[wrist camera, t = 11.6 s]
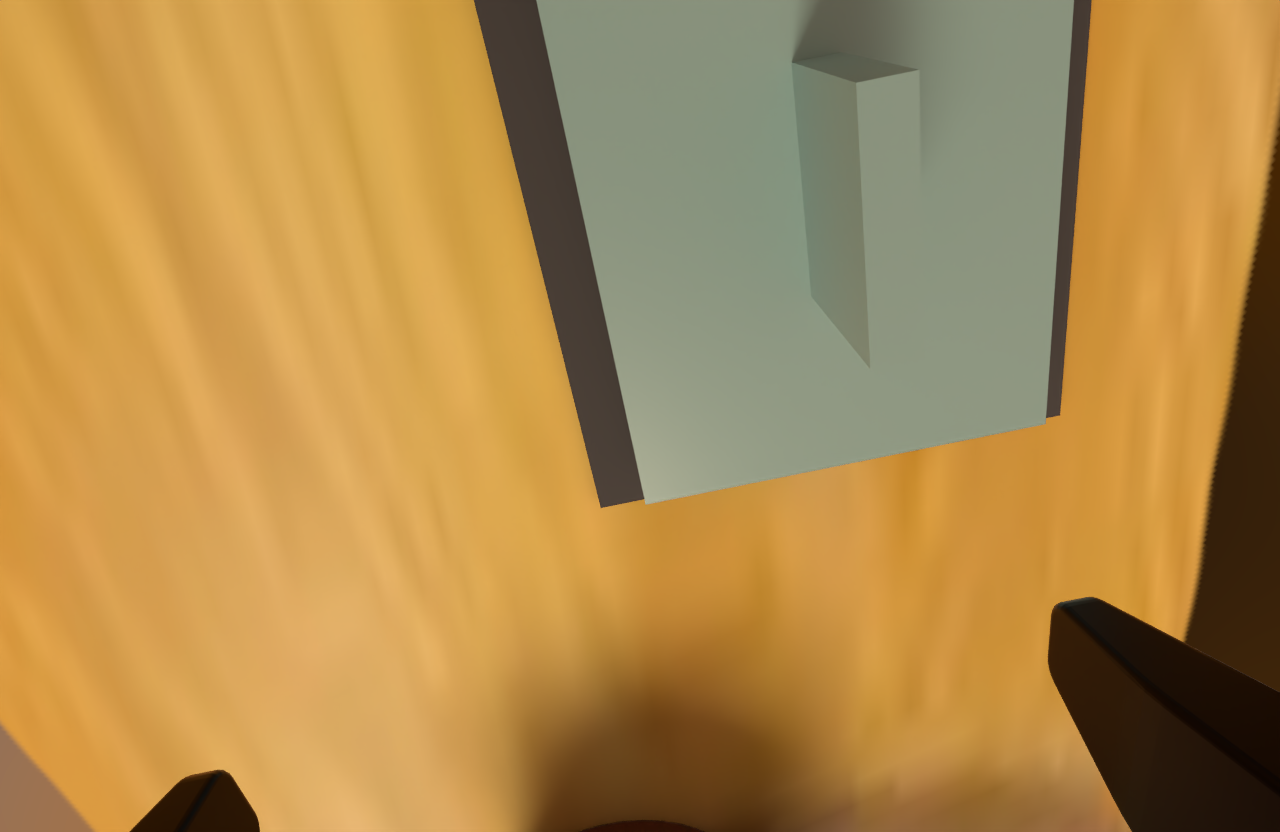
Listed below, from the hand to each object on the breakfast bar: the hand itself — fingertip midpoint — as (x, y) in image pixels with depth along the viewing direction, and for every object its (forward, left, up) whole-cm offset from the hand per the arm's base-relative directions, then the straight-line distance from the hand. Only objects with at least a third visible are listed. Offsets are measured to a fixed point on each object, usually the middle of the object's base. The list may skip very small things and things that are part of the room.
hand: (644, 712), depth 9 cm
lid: (+3, +5, -13) cm, 14 cm away
